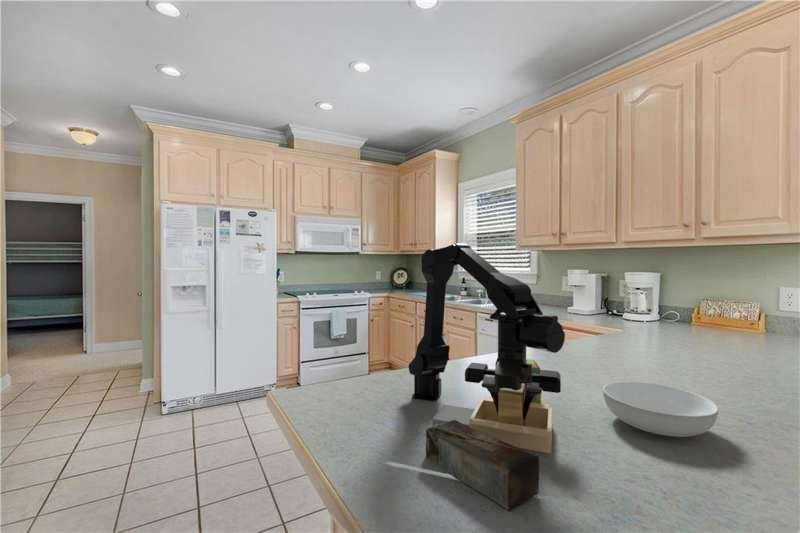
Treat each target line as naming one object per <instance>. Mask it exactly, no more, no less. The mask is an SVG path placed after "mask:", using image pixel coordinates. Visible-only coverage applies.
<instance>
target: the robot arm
mask: <svg viewBox="0 0 800 533" xmlns="http://www.w3.org/2000/svg"><path fill="white" fill-rule="evenodd" d="M458 265H459V266H460V267H461V268H462V269H463V270H465V272H467V273H468V274H469V275H470V276H471V277H472V278H473V279H475V280H476V282H478V283H479V284H480V285H481V286H482V287H483V288H484V289H485V290H486V295H487V298H488V299H489V301H490V302H491V303H492V304H493V306H494V307H495V308H496V309H495V311H494V312H493V313H491V314H490V315H489V319H491V320H495V321H497V358H496V361H495V364H494V366H495V369H491V368H489V366H488V364H487V363H479V362H471V363H470V364H469V365H468V366H467V367H466V369H464V381H465V382H467V383H474V384H480V383H481V382H482V383H481V387H482V388H484V389H487V391H488V393H489V394H490V397H492V398H493V401H494V404H495V407H496V410H497V413H498V400H499V391H500V388H501V389H502V388H508V389H512V390H520V389H521V384H522V383H523V384H526V383H527V388H526V394H525V401H524V408H523V420H525V418H526V415H527V412H528V409H529V406H530V404H531V402H532V400H533V398H534V396H535V395H536V394H541V395H542V392H548V393H555V394H559V393H562V392H561V391H562V390H561V388H562V387H561V385H562V384H561V383H562V381H561V374H560V373H559V371H558V370H549V369H548V370H546V369H540V374H532V365H531V364H526V359H527V348H532V349H535V350H539V351H540V350H541V351H544V352H548V353H551V354H552V353H554V354H555V353H556V354H557V353H558V352H560V351H561V350H562V348H563V346H564V344H565V339H566V332H564V328H563V326H562V324H561V323H560V322H559V317H558V315H553V314H551V315H545V314H544V313H543V312H542V310H541V308H540V306H539V305H538V303H537V301H536V300H535V298H534V296H533V295H532V289H531V288H530V286H529V285H528V284H526V283H525V282H523V281H521V280H519V279H517V278H515V277H513V276H509V275H507V274H504V273H502V272H500V271H499V270H498V269H496V267H494V266H493V265H492V264H491V263H489V262H488V261H487V260H486V259H484V258H483V257H482V256H481V255H479V254H478V253H477V252H476V251H475V250H473V249H472V247H471V245H469V244H467V243H453V244H450V245H448V246H445V247H441V248H436V249H426V250H425V252H424V253H422V255H421V274H422V275H423V277H424V279H425V281H426V294H425V295H426V296H425V309H424V324H423V325H424V327H423V336H422V337H421V338H420V339H421V340H420V341H419V342H418V344H417V345H416V352H415V356H414V358H413V359H412V361H410V362H409V364H408V370H409V371H408V372H409V374H410V375H412V376H414V377H413V378H414V382H413V383H414V386H413V387H414V392H413V394H412V395H411V397H412V398H414V399H421V400H427V401H436V400H437V399H438V398H439V396H441V394H442V378H440V374H441V373H445V371H446V366H447V364H448V362H449V361H450V345H448V344H446V342H445V340H444V338H443V334H444V333H443V332H444V320H445V318H444V317H445V304H446V289H447V283H448V282H449V280H450V279H451V277H452V276H453V274H454V269H455V266H458Z"/></svg>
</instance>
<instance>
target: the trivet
mask: <svg viewBox="0 0 800 533" xmlns="http://www.w3.org/2000/svg"><path fill="white" fill-rule="evenodd" d="M474 410H475V408H471V407H470V408H469V407H465V406H457V405H449V404H443V405H442V406H441V408H440V409H439V410H438V411H437V413H436V414H435V415H434V416H433V417H432V427H433V426H435V425H436V424H443V423H446V422H449V421H452V420H456V421H458V422H461V423H462V424H464V425H467V426H469V427H470V417H471V416H472V414H473V412H474Z"/></svg>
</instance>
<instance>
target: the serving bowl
mask: <svg viewBox="0 0 800 533" xmlns="http://www.w3.org/2000/svg"><path fill="white" fill-rule="evenodd" d="M602 392H603V398H604V402H605V404H606V406H607V408H608V409H609V411H610V412H611V413H612V414H613V415H614V416H616V417H617V418H618V419H619V420H621V421H622V422H623V423H625V424H627V425H630V426H632V427H634V428H636V429H639V430H642V431H645V432H647V433H648V432H649V433H651V434H655V435H661V436H668V437H677V438H679V437H682V438H685V437H694V436H698V435H702V434H704V433H706V432H707V431H709V430H710V429H711V428H713V426H714V425H715V423H716V422H717V419H718V415H719V407H718V406H717V405H716V403H715V402H713V401H711V400H710V399H709V398H707V397H704V396H702V395H700V394H697V393H694V392H691V391H688V390H685V389H681V388H679V387H674V386H669V385H665V384H659V383H654V382H653V383H652V382H645V381H631V380H630V381H627V380H626V381H625V380H624V381H614V382H610V383H606V384H605V385H604V386H603V387H602Z"/></svg>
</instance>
